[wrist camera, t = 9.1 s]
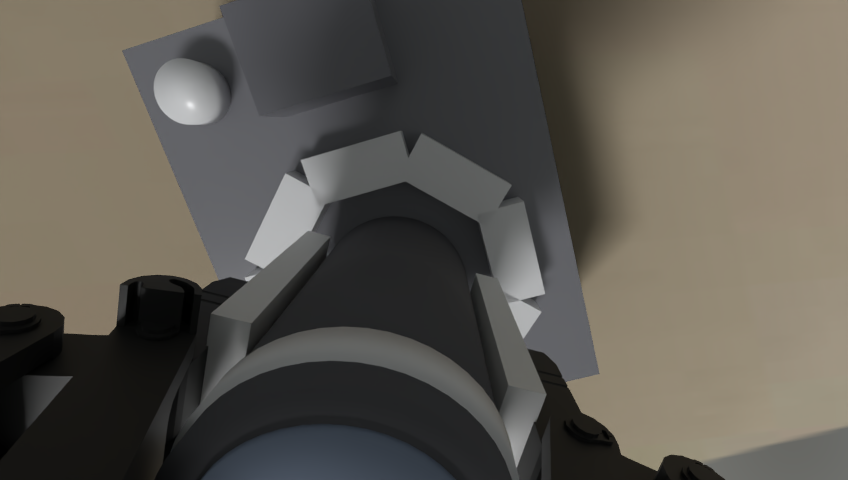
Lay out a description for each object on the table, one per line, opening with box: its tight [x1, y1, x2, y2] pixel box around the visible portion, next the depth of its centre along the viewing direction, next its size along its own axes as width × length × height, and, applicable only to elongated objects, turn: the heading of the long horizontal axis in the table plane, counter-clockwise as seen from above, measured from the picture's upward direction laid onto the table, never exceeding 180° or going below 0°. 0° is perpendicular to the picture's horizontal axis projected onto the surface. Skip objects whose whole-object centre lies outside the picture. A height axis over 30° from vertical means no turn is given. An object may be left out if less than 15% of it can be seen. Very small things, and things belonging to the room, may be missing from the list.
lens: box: [154, 216, 519, 480], centre depth 11 cm, size 5×5×10 cm
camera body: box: [122, 0, 599, 382], centre depth 18 cm, size 13×16×8 cm
